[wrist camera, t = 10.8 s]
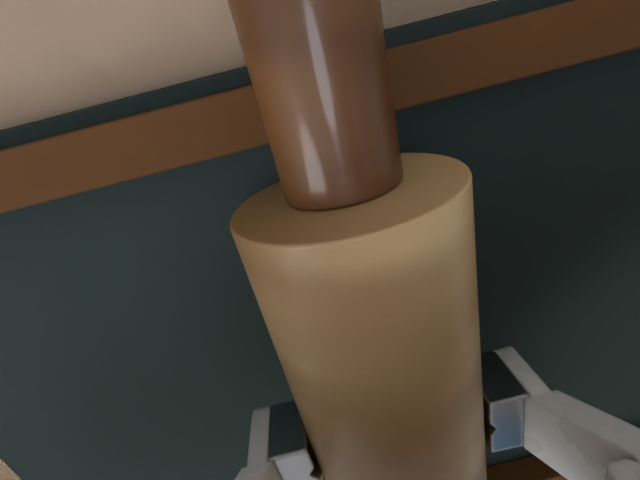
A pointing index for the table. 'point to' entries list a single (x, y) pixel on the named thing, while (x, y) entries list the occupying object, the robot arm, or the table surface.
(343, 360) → the rolling pin
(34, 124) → the chalkboard
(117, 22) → the table surface
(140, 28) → the table surface
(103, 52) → the table surface
